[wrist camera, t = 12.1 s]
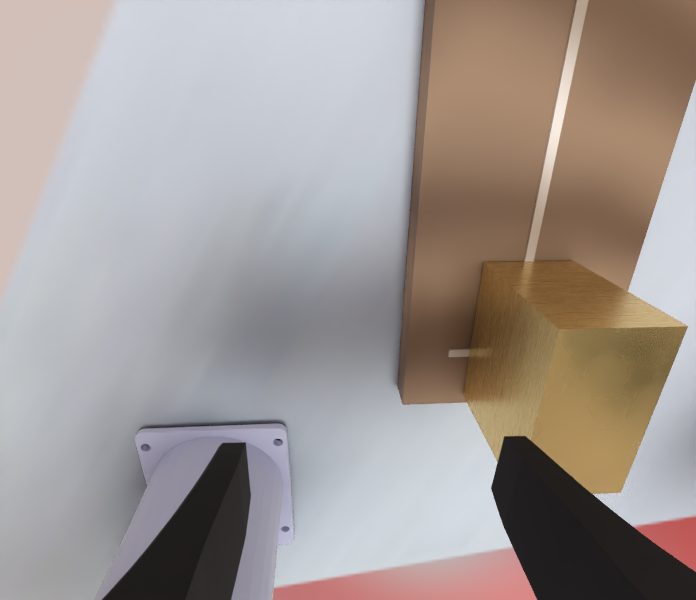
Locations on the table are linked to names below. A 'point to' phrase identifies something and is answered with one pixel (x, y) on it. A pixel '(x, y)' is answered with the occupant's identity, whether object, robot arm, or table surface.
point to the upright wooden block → (568, 366)
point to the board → (533, 154)
